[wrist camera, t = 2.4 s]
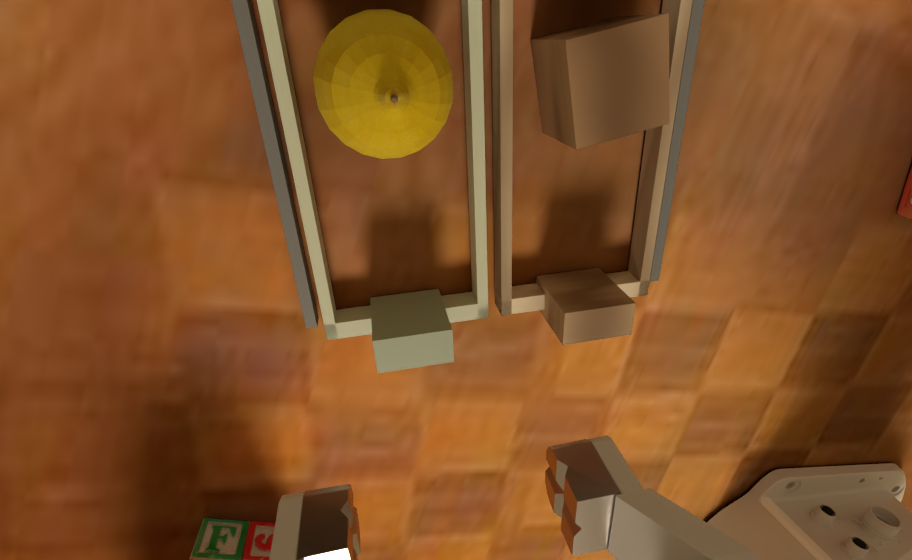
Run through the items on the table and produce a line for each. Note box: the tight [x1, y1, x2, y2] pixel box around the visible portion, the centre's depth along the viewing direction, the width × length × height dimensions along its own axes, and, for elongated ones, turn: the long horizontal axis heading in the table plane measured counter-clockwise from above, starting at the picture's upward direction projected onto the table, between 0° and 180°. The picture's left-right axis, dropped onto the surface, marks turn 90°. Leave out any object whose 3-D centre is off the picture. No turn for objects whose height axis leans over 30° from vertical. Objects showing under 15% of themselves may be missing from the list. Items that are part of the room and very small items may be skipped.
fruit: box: [313, 9, 453, 159], centre depth 19 cm, size 6×6×8 cm
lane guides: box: [231, 0, 705, 329], centre depth 25 cm, size 21×19×1 cm
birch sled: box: [491, 0, 693, 345], centre depth 24 cm, size 9×18×4 cm, turn 3°
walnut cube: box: [530, 13, 670, 150], centre depth 23 cm, size 4×4×4 cm
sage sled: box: [257, 0, 488, 373], centre depth 23 cm, size 9×18×4 cm, turn 3°
